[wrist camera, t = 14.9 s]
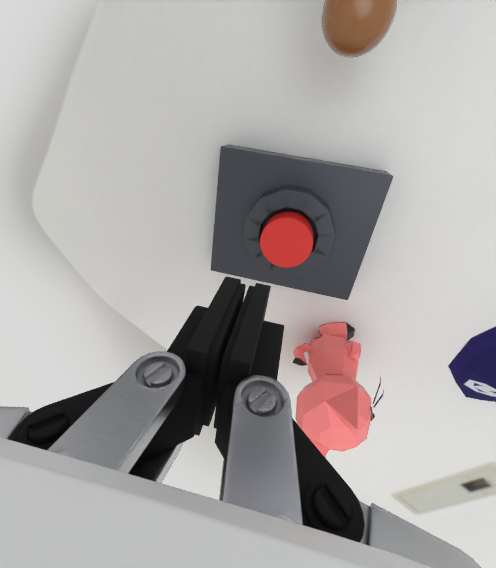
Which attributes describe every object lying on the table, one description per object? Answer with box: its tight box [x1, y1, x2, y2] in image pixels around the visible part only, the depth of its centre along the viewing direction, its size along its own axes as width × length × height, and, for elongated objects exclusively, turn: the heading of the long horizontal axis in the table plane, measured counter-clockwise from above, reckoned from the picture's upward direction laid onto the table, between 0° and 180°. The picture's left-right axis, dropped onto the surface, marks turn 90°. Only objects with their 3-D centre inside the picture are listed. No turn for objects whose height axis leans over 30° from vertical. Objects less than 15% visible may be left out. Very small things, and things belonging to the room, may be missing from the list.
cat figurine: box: [293, 323, 384, 457], centre depth 24 cm, size 7×7×12 cm
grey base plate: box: [211, 145, 393, 300], centre depth 23 cm, size 12×10×4 cm
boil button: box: [260, 211, 313, 268], centre depth 21 cm, size 4×4×2 cm
